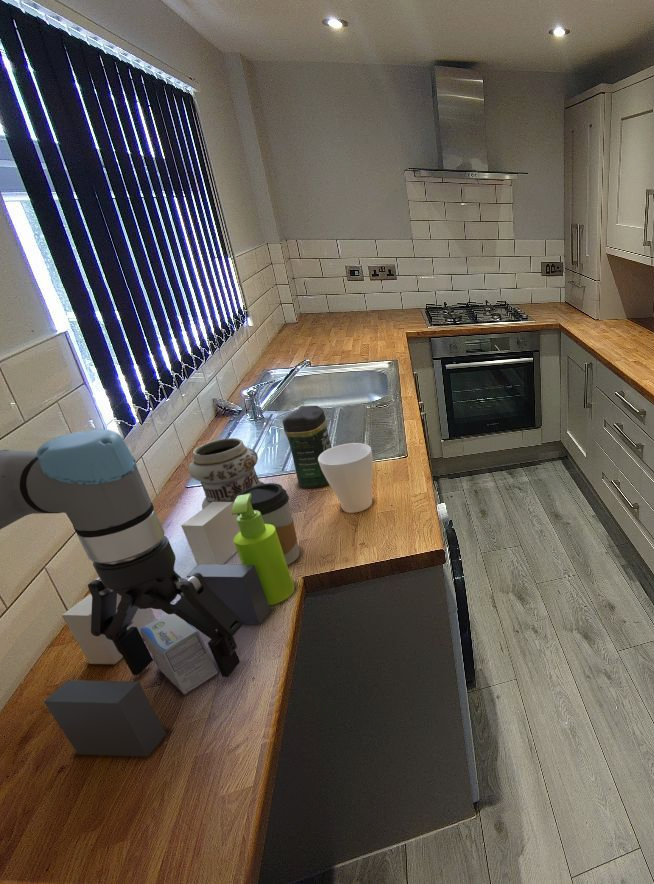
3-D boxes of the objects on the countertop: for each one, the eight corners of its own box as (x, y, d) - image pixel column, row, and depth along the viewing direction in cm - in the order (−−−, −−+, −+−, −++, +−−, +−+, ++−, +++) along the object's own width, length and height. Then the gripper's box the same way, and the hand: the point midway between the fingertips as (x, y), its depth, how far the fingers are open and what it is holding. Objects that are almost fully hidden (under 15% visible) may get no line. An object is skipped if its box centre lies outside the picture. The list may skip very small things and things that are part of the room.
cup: (384, 491, 123) (373, 440, 117) (381, 515, 114) (369, 460, 108) (335, 499, 120) (321, 446, 115) (329, 524, 111) (313, 468, 105)
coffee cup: (298, 542, 105) (278, 477, 99) (312, 560, 100) (292, 493, 94) (251, 561, 100) (227, 493, 94) (263, 581, 95) (238, 511, 88)
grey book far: (206, 625, 85) (185, 576, 81) (219, 611, 88) (200, 563, 84) (260, 626, 85) (242, 577, 81) (271, 612, 88) (254, 564, 83)
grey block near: (79, 757, 65) (43, 701, 61) (101, 734, 68) (67, 679, 64) (149, 759, 65) (117, 703, 61) (168, 736, 68) (139, 681, 63)
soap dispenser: (253, 616, 87) (214, 514, 79) (259, 590, 93) (224, 492, 84) (293, 606, 89) (259, 505, 81) (296, 581, 95) (265, 485, 86)
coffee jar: (330, 489, 125) (311, 417, 117) (295, 491, 124) (273, 419, 116) (343, 469, 133) (327, 401, 126) (311, 471, 133) (292, 403, 125)
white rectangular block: (90, 666, 78) (61, 615, 74) (136, 626, 85) (111, 577, 81) (116, 667, 78) (88, 615, 74) (159, 626, 85) (136, 577, 81)
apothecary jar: (243, 503, 119) (218, 431, 112) (289, 509, 117) (267, 435, 109) (196, 534, 108) (165, 457, 101) (246, 541, 106) (217, 462, 98)
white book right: (199, 570, 98) (180, 525, 94) (228, 544, 105) (212, 501, 101) (220, 570, 98) (202, 525, 94) (247, 544, 105) (232, 501, 101)
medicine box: (219, 675, 76) (200, 630, 72) (184, 698, 73) (162, 652, 69) (194, 652, 80) (174, 609, 76) (160, 673, 77) (137, 628, 73)
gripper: (242, 531, 70) (285, 649, 79) (66, 529, 71) (127, 646, 80) (201, 567, 63) (253, 692, 72) (6, 565, 64) (81, 688, 73)
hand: (187, 668), depth 76 cm, fingers open, 12 cm apart
